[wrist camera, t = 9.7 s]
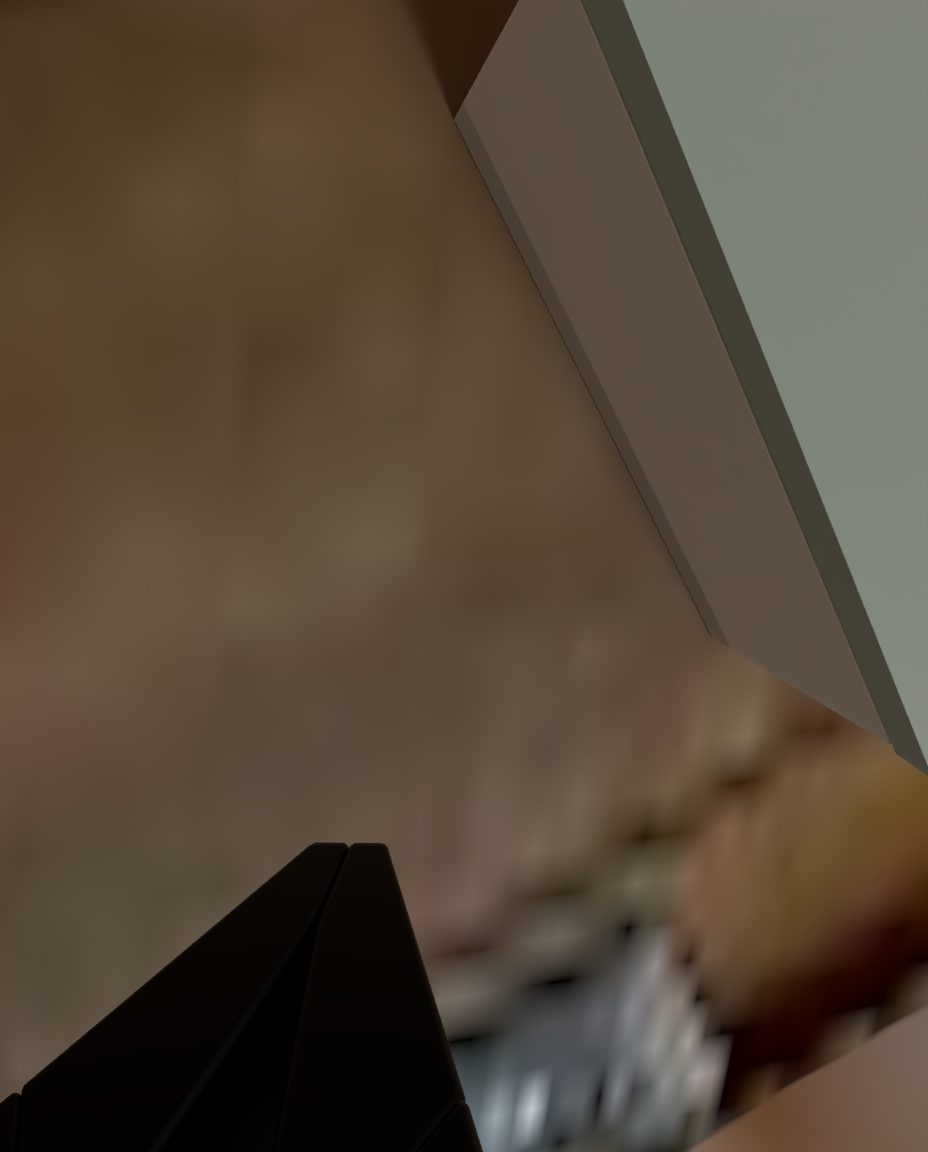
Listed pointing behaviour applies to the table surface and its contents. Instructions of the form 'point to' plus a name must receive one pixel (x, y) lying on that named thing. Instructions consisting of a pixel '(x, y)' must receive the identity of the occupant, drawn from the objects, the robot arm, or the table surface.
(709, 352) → the chest
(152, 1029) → the robot arm
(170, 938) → the table surface
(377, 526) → the table surface
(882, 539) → the chest lid
